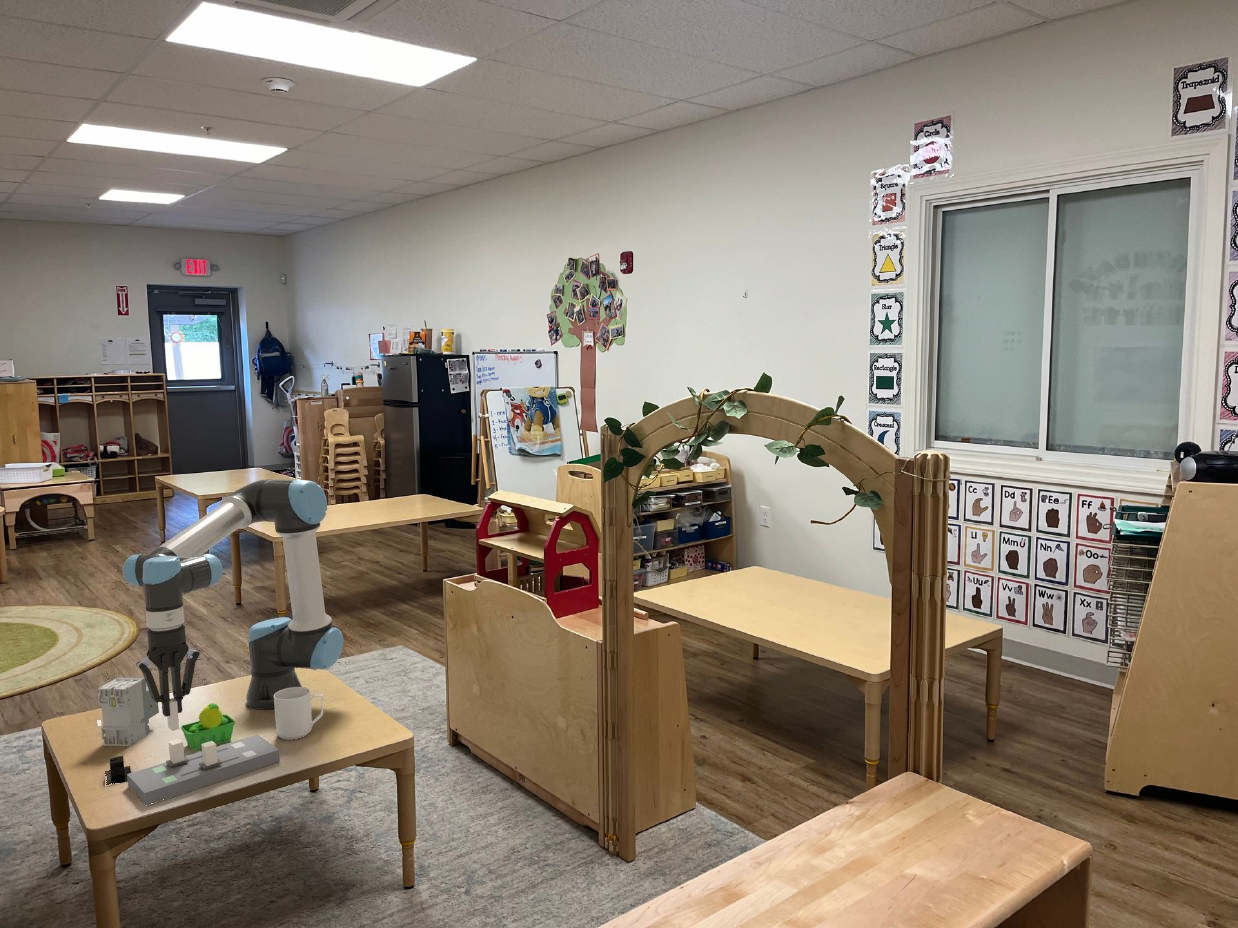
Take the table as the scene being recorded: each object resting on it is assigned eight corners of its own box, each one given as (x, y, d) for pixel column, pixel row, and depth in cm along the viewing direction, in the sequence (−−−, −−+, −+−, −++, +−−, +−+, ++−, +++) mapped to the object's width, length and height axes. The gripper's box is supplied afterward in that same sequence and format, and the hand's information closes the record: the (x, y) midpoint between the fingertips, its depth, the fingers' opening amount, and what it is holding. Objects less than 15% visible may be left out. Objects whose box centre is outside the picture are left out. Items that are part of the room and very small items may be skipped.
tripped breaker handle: (216, 759, 211) (215, 739, 210) (221, 763, 208) (220, 743, 208) (199, 765, 208) (197, 744, 207) (203, 769, 206) (202, 748, 205)
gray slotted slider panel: (258, 745, 226) (257, 733, 226) (279, 761, 217) (279, 749, 216) (128, 786, 205) (127, 773, 205) (145, 805, 196) (144, 792, 196)
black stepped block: (100, 771, 215) (99, 753, 214) (135, 764, 218) (133, 746, 218) (101, 792, 204) (99, 773, 204) (137, 784, 208) (135, 765, 207)
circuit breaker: (163, 723, 242) (159, 669, 240) (130, 745, 228) (125, 689, 226) (137, 722, 242) (133, 669, 241) (102, 745, 228) (97, 688, 227)
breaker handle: (184, 757, 212) (182, 737, 212) (188, 761, 210) (187, 741, 209) (166, 762, 210) (164, 742, 209) (170, 767, 207) (168, 746, 207)
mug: (276, 743, 227) (274, 701, 226) (276, 730, 235) (273, 689, 234) (326, 735, 231) (323, 694, 230) (323, 722, 240) (321, 682, 238)
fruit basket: (227, 731, 235) (223, 690, 234) (239, 741, 229) (236, 699, 227) (181, 745, 228) (177, 702, 226) (192, 755, 221) (189, 712, 220)
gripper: (139, 636, 192) (147, 741, 195) (202, 623, 201) (209, 724, 204) (128, 629, 197) (137, 731, 200) (190, 617, 206) (197, 715, 209)
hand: (173, 727), depth 202 cm, fingers closed
